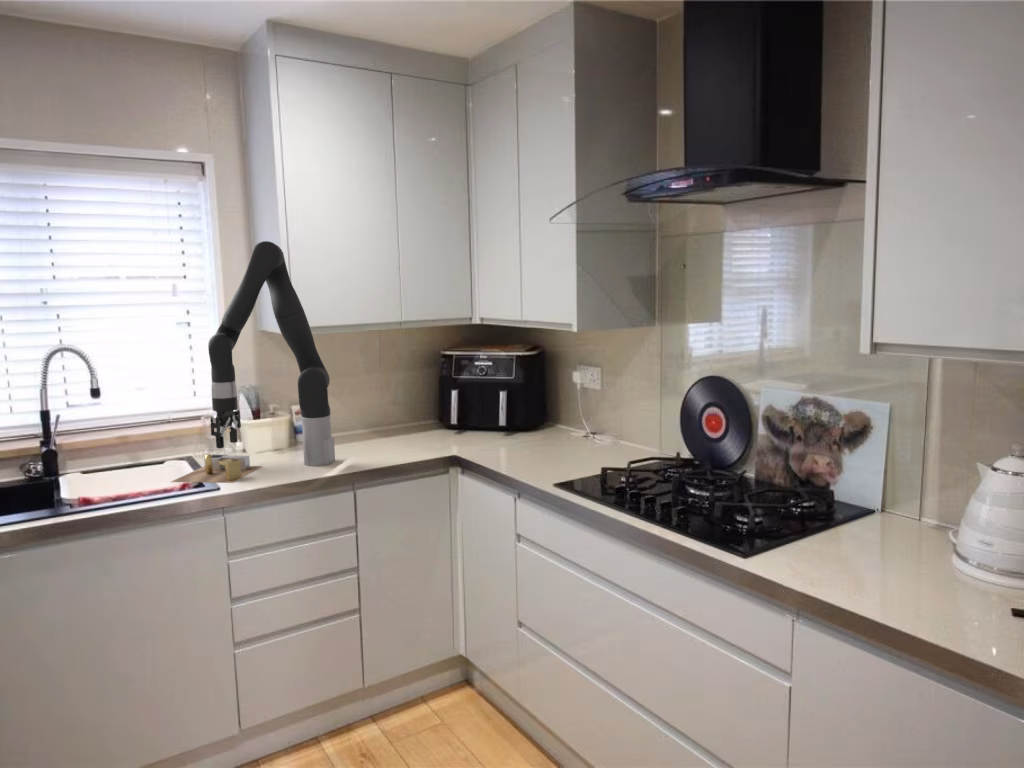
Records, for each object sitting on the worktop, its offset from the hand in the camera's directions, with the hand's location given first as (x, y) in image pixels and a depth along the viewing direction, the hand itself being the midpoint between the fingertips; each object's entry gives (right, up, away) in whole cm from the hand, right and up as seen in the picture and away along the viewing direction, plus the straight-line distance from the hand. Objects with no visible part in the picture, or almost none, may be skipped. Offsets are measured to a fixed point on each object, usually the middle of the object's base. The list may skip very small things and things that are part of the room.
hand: (227, 445), depth 234 cm
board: (-1, -10, -5) cm, 11 cm away
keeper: (+6, -9, -12) cm, 16 cm away
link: (0, -8, +1) cm, 8 cm away
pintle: (-4, -9, -5) cm, 11 cm away
